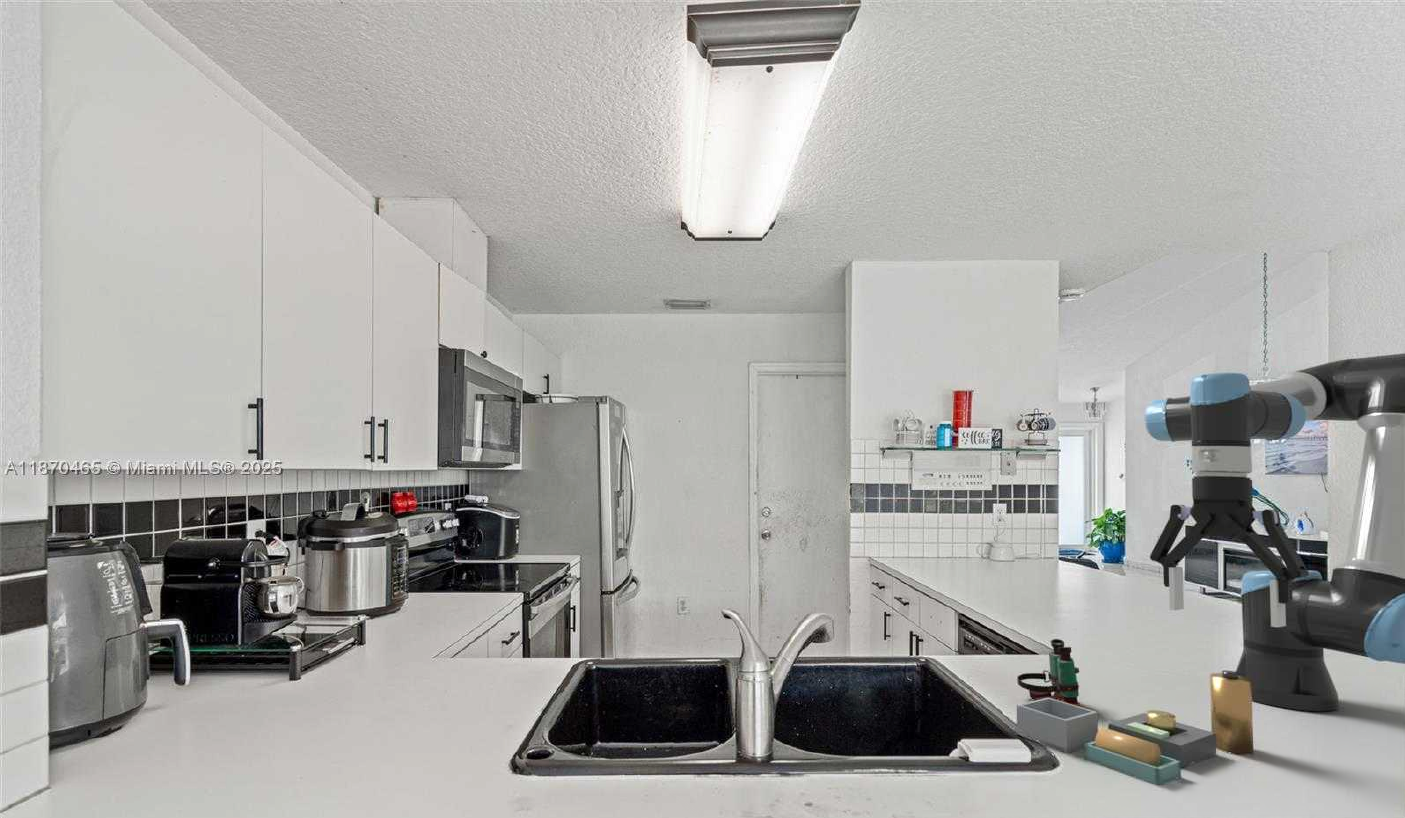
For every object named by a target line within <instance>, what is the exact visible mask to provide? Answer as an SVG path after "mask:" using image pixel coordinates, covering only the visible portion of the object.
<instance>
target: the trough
mask: <svg viewBox="0 0 1405 818" xmlns="http://www.w3.org/2000/svg"><path fill="white" fill-rule="evenodd" d="M1083 749H1084V752H1083V753H1084V760H1085V761H1086V760H1087V761H1090V762H1092V763H1095V762H1096V763H1095V764H1097V763H1099V764H1098V765H1100V764H1101V765H1100V766H1103V765H1104V766H1103V767H1107V768H1109V769H1112V770H1114V769H1115V771H1117V770H1118V772H1120V771H1121V772H1120V773H1124V774H1126V775H1129V776H1130V777H1134V776H1135V777H1134V778H1137V779H1139V780H1142V781H1146V782H1149V783H1152V784H1154V785H1157V786H1159V785H1160V786H1161V785H1164V784H1163V783H1165V784H1167V783H1169V781H1170V782H1172V781H1174V779H1175V780H1177V779H1178V778H1177V777H1180V776H1181V777H1182V768H1181V761H1178V760H1175V759H1172V758H1168V757H1165V756H1162V755H1161V751H1160V748H1159V746H1158V745H1157V744H1155V743H1152V742H1148V741H1145V740H1142V739H1139V738H1135V737H1132V736H1129V735H1126V734H1123V733H1119V732H1116V731H1113V730H1110V729H1108V728H1105V727H1100V729H1099V728H1098V732H1097V735H1096V739H1095V741H1093V742H1090V743H1087V744H1084V748H1083ZM1181 777H1180V778H1181ZM1176 778H1177V779H1176Z"/></svg>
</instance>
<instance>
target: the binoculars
mask: <svg viewBox="0 0 1405 818" xmlns="http://www.w3.org/2000/svg"><path fill="white" fill-rule="evenodd" d="M1050 644H1051V645H1050V646H1051V647H1052V650H1053V651H1049V652H1048V658H1049V671H1048V670H1045V669H1044V670H1043V671H1042V672H1037V673H1036V672H1026V673H1021V674H1020V675H1017V677H1016V678H1017V679H1016V680H1017V685H1018V686H1019V687H1021V688H1023V689H1024V690H1027V691H1028V692H1029V698H1030V697H1031V698H1032V699H1034V700H1035V701H1036V700H1040V699H1044V698H1052V699H1055V700H1058V701H1062V702H1065V703H1068V704H1072V705H1075V706H1079V707H1081V702H1080V701H1078V697H1079V695H1080V693H1079V688H1080V685H1079V682H1078V679H1077V674H1079V673H1080V668H1079V667H1077V666H1075V662H1074V661H1075V660H1074V659H1073V658H1072V657H1071V653H1072V647H1071V646H1070V647H1069V646H1065V642H1064V640H1062V639H1061V638H1060V639H1059V638H1053V639H1051V640H1050ZM1047 673H1048V676H1047ZM1047 677H1048V679H1049V680H1047ZM1024 680H1025V681H1026V680H1043V681H1044V683H1046V684H1047V683H1049V682H1051V685H1036V684H1030V683H1027V682H1024ZM1052 693H1053V694H1052ZM1031 698H1030V699H1031ZM1032 699H1031V700H1032ZM1034 700H1033V701H1034Z"/></svg>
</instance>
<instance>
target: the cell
mask: <svg viewBox="0 0 1405 818" xmlns="http://www.w3.org/2000/svg"><path fill="white" fill-rule="evenodd" d="M1209 679H1210V682H1209V684H1210V685H1209V686H1210V714H1211V715H1210V716H1211V717H1210V723H1211V725H1210V726H1211V732H1213V733H1216V748H1218V749H1220V750H1219V751H1221V750H1223V751H1222V752H1224V751H1227V752H1226V753H1228V752H1231V753H1230V754H1232V753H1234V755H1238V754H1251V755H1253V754H1254V727H1253V726H1254V725H1253V722H1254V721H1253V700H1252V687H1251V680H1250V679H1248V678H1245V677H1242V676H1239V673H1237V672H1236V671H1233V670H1224V669H1223V670H1222V671H1221V672H1214V673H1213V672H1212V673H1210V675H1209ZM1218 749H1217V750H1218Z"/></svg>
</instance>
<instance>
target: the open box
mask: <svg viewBox="0 0 1405 818" xmlns="http://www.w3.org/2000/svg"><path fill="white" fill-rule="evenodd" d="M1098 714H1099V713H1098V712H1097V711H1095V710H1091V709H1088V708H1085V707H1079V706H1075V705H1072V704H1068V703H1065V702H1062V701H1060V700H1055V699H1052V698H1044V699H1040V700H1036V701H1034V700H1032V701H1029V702H1025V703H1020V704H1019V703H1018V704H1016V730H1017V729H1018V730H1020V731H1022V732H1025V733H1026V734H1028V735H1029V736H1030V737H1032V738H1033V739H1035V740H1038V741H1039V742H1040V743H1042V744H1044V745H1043V746H1045V747H1048V748H1051V749H1054V750H1057V751H1059V752H1061V753H1062V752H1063V753H1065V754H1069V753H1072V752H1075V751H1078V750H1082V749H1084V744H1087V743H1090V742H1093V741H1095V739H1096V735H1097V732H1098V731H1099V715H1098ZM1042 744H1041V745H1042ZM1081 748H1082V749H1081Z"/></svg>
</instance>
